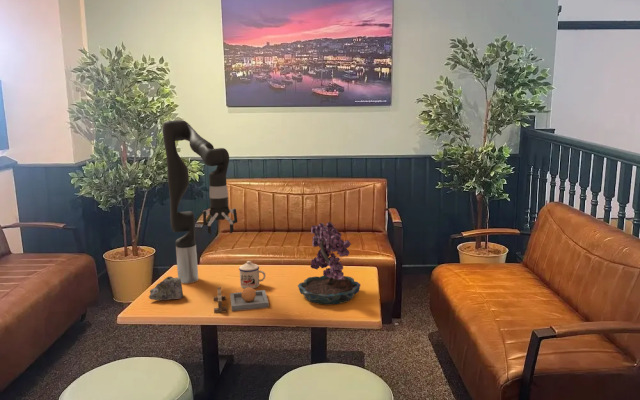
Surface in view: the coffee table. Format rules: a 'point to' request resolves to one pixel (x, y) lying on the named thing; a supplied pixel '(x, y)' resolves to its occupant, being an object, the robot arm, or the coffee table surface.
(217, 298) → the fence
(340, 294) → the bonsai tree
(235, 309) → the tray
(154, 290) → the mineral rock
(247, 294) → the ball
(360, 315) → the coffee table surface
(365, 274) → the coffee table surface
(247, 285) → the teacup with lid
